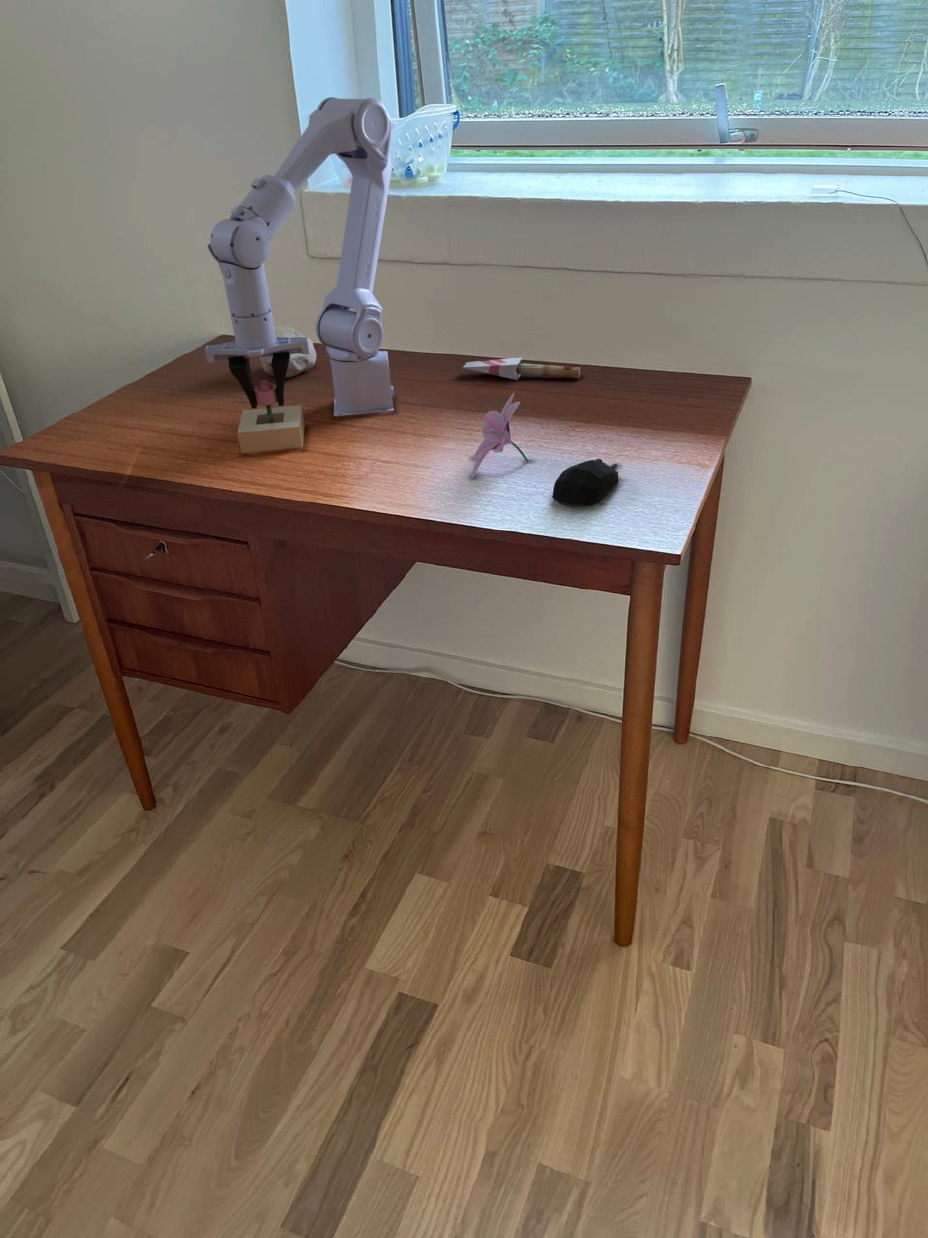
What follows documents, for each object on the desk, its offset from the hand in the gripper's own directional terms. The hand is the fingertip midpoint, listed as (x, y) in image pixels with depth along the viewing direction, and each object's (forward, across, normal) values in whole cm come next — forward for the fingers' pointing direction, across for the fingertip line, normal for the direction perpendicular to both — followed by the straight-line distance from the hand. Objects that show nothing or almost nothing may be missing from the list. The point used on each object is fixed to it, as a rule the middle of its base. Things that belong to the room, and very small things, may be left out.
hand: (267, 404), depth 137 cm
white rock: (+6, +1, +32) cm, 33 cm away
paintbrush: (+6, +41, +19) cm, 46 cm away
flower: (+5, 0, 0) cm, 5 cm away
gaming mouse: (+6, +43, -26) cm, 51 cm away
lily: (+6, +32, -16) cm, 36 cm away
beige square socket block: (+6, 0, 0) cm, 6 cm away
